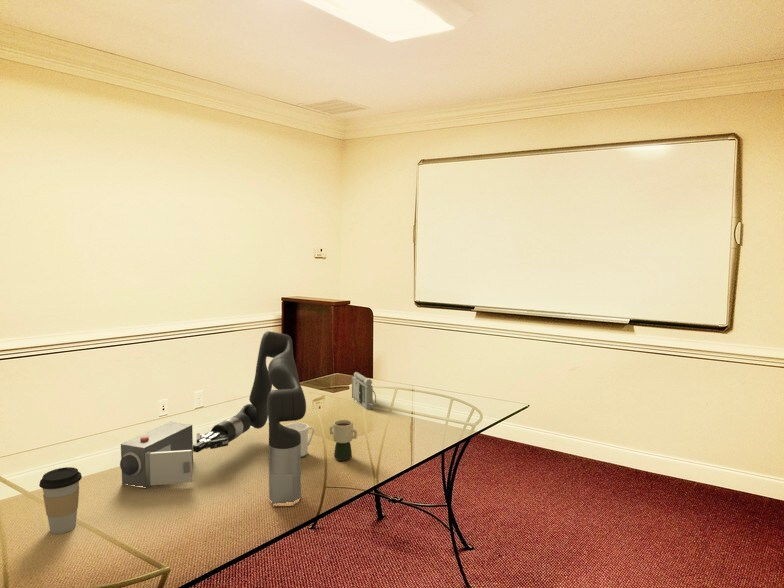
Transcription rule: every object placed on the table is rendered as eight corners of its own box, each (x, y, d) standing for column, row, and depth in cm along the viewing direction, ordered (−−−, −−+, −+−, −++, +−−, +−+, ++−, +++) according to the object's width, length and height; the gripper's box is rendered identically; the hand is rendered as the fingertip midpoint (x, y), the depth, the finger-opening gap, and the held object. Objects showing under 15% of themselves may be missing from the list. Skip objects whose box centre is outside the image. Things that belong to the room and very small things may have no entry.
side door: (192, 480, 163) (191, 448, 162) (191, 484, 161) (190, 451, 160) (146, 484, 161) (145, 451, 160) (144, 487, 158) (143, 454, 157)
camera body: (171, 457, 184) (170, 419, 183) (194, 461, 181) (193, 422, 180) (116, 487, 161) (115, 443, 160) (141, 492, 158) (140, 447, 157)
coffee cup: (75, 515, 144) (73, 462, 143) (89, 527, 138) (87, 472, 137) (36, 529, 137) (33, 474, 136) (49, 542, 131) (46, 485, 130)
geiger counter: (349, 370, 257) (368, 383, 235) (361, 369, 260) (381, 381, 238) (349, 398, 259) (368, 413, 236) (361, 396, 261) (381, 411, 239)
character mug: (361, 457, 187) (361, 421, 185) (351, 464, 180) (351, 428, 179) (334, 452, 191) (335, 417, 190) (324, 459, 185) (324, 423, 184)
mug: (284, 460, 183) (284, 432, 182) (282, 450, 192) (282, 423, 191) (315, 457, 186) (315, 429, 185) (312, 448, 194) (312, 421, 194)
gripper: (211, 418, 186) (177, 435, 170) (243, 422, 182) (212, 440, 166) (211, 438, 187) (178, 457, 170) (243, 443, 183) (212, 463, 166)
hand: (195, 449), depth 168 cm, fingers closed
